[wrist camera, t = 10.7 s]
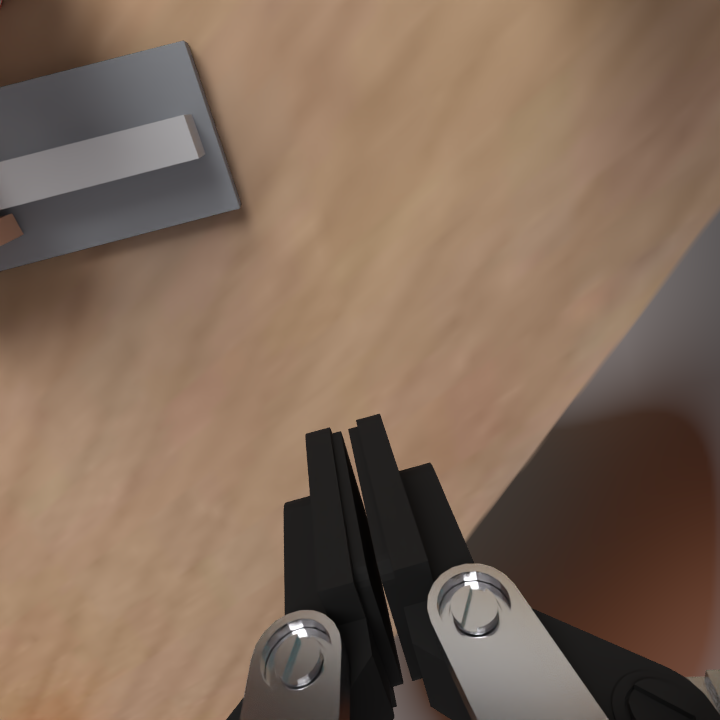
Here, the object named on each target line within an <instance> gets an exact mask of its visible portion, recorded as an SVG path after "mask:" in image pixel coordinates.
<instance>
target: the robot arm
mask: <svg viewBox="0 0 720 720" xmlns="http://www.w3.org/2000/svg"><path fill="white" fill-rule="evenodd" d="M356 422H357V426H358V427H354V428H351V429H348V430H349V435H350V440H351V444H352V449H353V454H354V458H355V463H356V468H357V472H358V477H359V482H360V486H361V491H362V496H363V500H364V505H365V509H364V505H363V502H362V499H361V495H360V492H359V489H358V486H357V482H356V479H355V476H354V472H353V469H352V466H351V462H350V459H349V456H348V452H347V449H346V446H345V443H344V439H343V436H342V433H341V431H340V432H336V433H333V434H332V431H331V429H330V427H329V428H326V429H322V430H318V431H315V432H311V433H307V434H306V450H307V463H308V475H309V488H310V496H308V497H304V498H301V499H297V500H293V501H290V502H286V503H285V505H284V583H285V616H283V617H282V618H280V619H278V620H277V621H275V622H274V623H273V624H272V625H271V626H270V627H269V628H268V629H267V630H266V631H265V632H264V633H263V635H262V636H261V638H260V639H259V641H258V643H257V644H256V646H255V649H254V652H253V655H252V658H251V663H250V668H249V673H248V678H247V684H246V689H245V694H244V698H243V699H242V700H241V702H240V703H239V704H238V705H237V707H236V708H235V709H234V710H233V712H232V713H231V714H230V716H229V717H228V718H227V719H226V720H393V719H394V712H393V707H396V706H397V705H396V700H395V695H394V690H393V687H394V686H397V685H400V684H403V678H402V673H401V669H400V664H399V660H398V655H397V650H396V645H395V641H394V636H393V632H392V627H391V622H390V618H389V613H388V608H387V604H386V599H385V595H384V591H385V594H386V597H387V600H388V603H389V607H390V610H391V613H392V616H393V620H394V623H395V626H396V629H397V633H398V636H399V639H400V642H401V645H402V649H403V652H404V655H405V658H406V662H407V665H408V668H409V671H410V675H411V678H412V681H414V680H418V679H421V678H423V681H424V685H425V688H426V691H427V695H428V698H429V702H430V705H431V707H433V708H434V709H436V710H437V711H439V712H440V713H442V714H444V715H445V716H447V717H448V718H450V719H452V720H720V670H706V673H705V677H684V676H682V675H680V674H678V673H677V672H675V671H673V670H671V669H669V668H667V667H665V666H663V665H661V664H658V663H656V662H654V661H651V660H649V659H647V658H644V657H642V656H640V655H637V654H635V653H633V652H631V651H628V650H626V649H624V648H621V647H619V646H617V645H614V644H612V643H610V642H608V641H606V640H603V639H601V638H598V637H596V636H594V635H592V634H590V633H587V632H585V631H583V630H580V629H578V628H576V627H573V626H571V625H569V624H567V623H564V622H562V621H559V620H557V619H555V618H553V617H551V616H548V615H546V614H544V613H541V612H539V611H537V610H534V609H532V608H531V607H530V606H529V604H528V603H527V602H526V600H525V599H524V597H523V596H522V595H521V593H520V592H519V590H518V589H517V587H516V586H515V584H514V583H513V582H512V581H511V580H510V579H509V578H508V577H507V576H506V575H505V574H503V573H502V572H500V571H498V570H496V569H495V568H493V567H490V566H486V565H482V564H474V562H473V559H472V557H471V555H470V552H469V550H468V548H467V545H466V543H465V541H464V538H463V536H462V534H461V531H460V529H459V527H458V524H457V522H456V520H455V517H454V515H453V513H452V510H451V508H450V506H449V503H448V501H447V499H446V496H445V494H444V492H443V489H442V487H441V484H440V482H439V480H438V477H437V475H436V473H435V470H434V468H433V466H432V464H431V463H427V464H423V465H420V466H416V467H412V468H409V469H405V470H402V471H399V470H398V467H397V464H396V461H395V458H394V455H393V452H392V449H391V446H390V443H389V440H388V437H387V434H386V431H385V428H384V425H383V422H382V419H381V416H380V414H377V415H373V416H369V417H366V418H362V419H358V420H356ZM365 510H366V512H365ZM366 514H367V515H366ZM381 580H382V581H381ZM382 584H383V585H382ZM383 587H384V590H383Z"/></svg>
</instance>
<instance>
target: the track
mask: <svg viewBox="0 0 720 720" xmlns="http://www.w3.org/2000/svg"><path fill="white" fill-rule="evenodd" d="M240 207H241V202H240V199H239V196H238V193H237V190H236V187H235V184H234V181H233V178H232V175H231V172H230V169H229V166H228V163H227V160H226V157H225V154H224V151H223V148H222V145H221V142H220V139H219V136H218V133H217V130H216V127H215V124H214V121H213V118H212V115H211V112H210V109H209V106H208V103H207V100H206V96H205V93H204V90H203V87H202V84H201V81H200V78H199V75H198V72H197V69H196V66H195V63H194V60H193V57H192V54H191V51H190V48H189V45H188V43H187V42H185V41H180V42H176V43H172V44H168V45H164V46H160V47H157V48H153V49H149V50H145V51H141V52H137V53H133V54H129V55H125V56H121V57H117V58H113V59H109V60H105V61H101V62H97V63H93V64H89V65H86V66H82V67H78V68H74V69H70V70H66V71H62V72H58V73H54V74H50V75H46V76H42V77H38V78H34V79H30V80H26V81H22V82H18V83H15V84H11V85H7V86H3V87H0V216H4V215H8V214H13V216H14V218H15V220H16V221H17V223H18V225H19V227H20V229H21V230H22V232H23V234H24V235H22V236H20V237H18V238H16V239H14V240H12V241H10V242H8V243H6V244H4V245H2V246H0V271H3V270H7V269H10V268H14V267H18V266H22V265H26V264H30V263H33V262H37V261H41V260H45V259H49V258H52V257H56V256H60V255H64V254H68V253H71V252H75V251H79V250H83V249H87V248H91V247H94V246H98V245H102V244H106V243H110V242H113V241H117V240H121V239H125V238H129V237H132V236H136V235H140V234H144V233H148V232H152V231H155V230H159V229H163V228H167V227H171V226H174V225H178V224H182V223H186V222H190V221H193V220H197V219H201V218H205V217H209V216H212V215H216V214H220V213H224V212H228V211H232V210H235V209H239V208H240Z"/></svg>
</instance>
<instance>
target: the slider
mask: <svg viewBox="0 0 720 720" xmlns="http://www.w3.org/2000/svg"><path fill="white" fill-rule="evenodd" d="M22 235H24V234H23V232H22V230H21V229H20V227H19V225H18V223H17V221H16V220H15V218H14V216H13V214H8V215H4V216H0V246H2V245H4V244H6V243H8V242H10V241H12V240H14V239H16V238H18V237H20V236H22Z"/></svg>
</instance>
